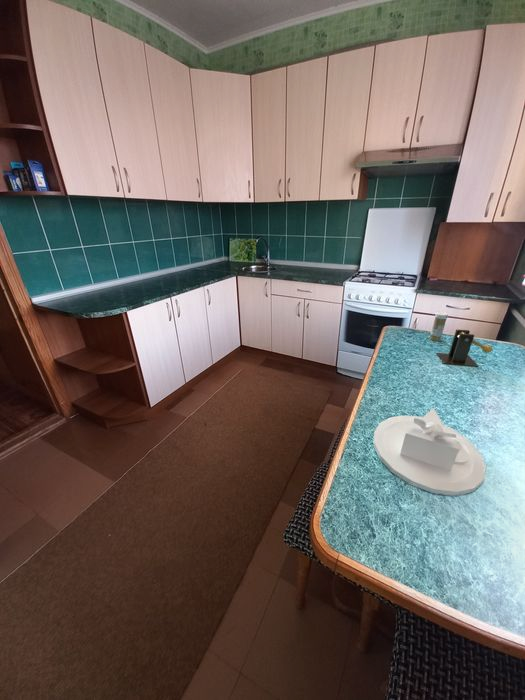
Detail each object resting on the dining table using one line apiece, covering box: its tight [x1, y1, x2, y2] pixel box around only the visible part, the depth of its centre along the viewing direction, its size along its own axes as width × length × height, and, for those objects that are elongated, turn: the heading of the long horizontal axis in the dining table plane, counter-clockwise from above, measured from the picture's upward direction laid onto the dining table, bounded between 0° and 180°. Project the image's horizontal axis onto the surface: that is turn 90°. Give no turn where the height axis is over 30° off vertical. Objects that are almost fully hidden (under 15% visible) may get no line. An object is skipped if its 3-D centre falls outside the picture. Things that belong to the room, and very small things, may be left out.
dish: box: [372, 407, 487, 497], centre depth 71 cm, size 25×25×11 cm
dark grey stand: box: [435, 329, 479, 368], centre depth 111 cm, size 12×9×13 cm
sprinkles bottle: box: [429, 311, 449, 342], centre depth 128 cm, size 5×5×14 cm
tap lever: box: [457, 332, 493, 354], centre depth 109 cm, size 13×3×3 cm, turn 78°
